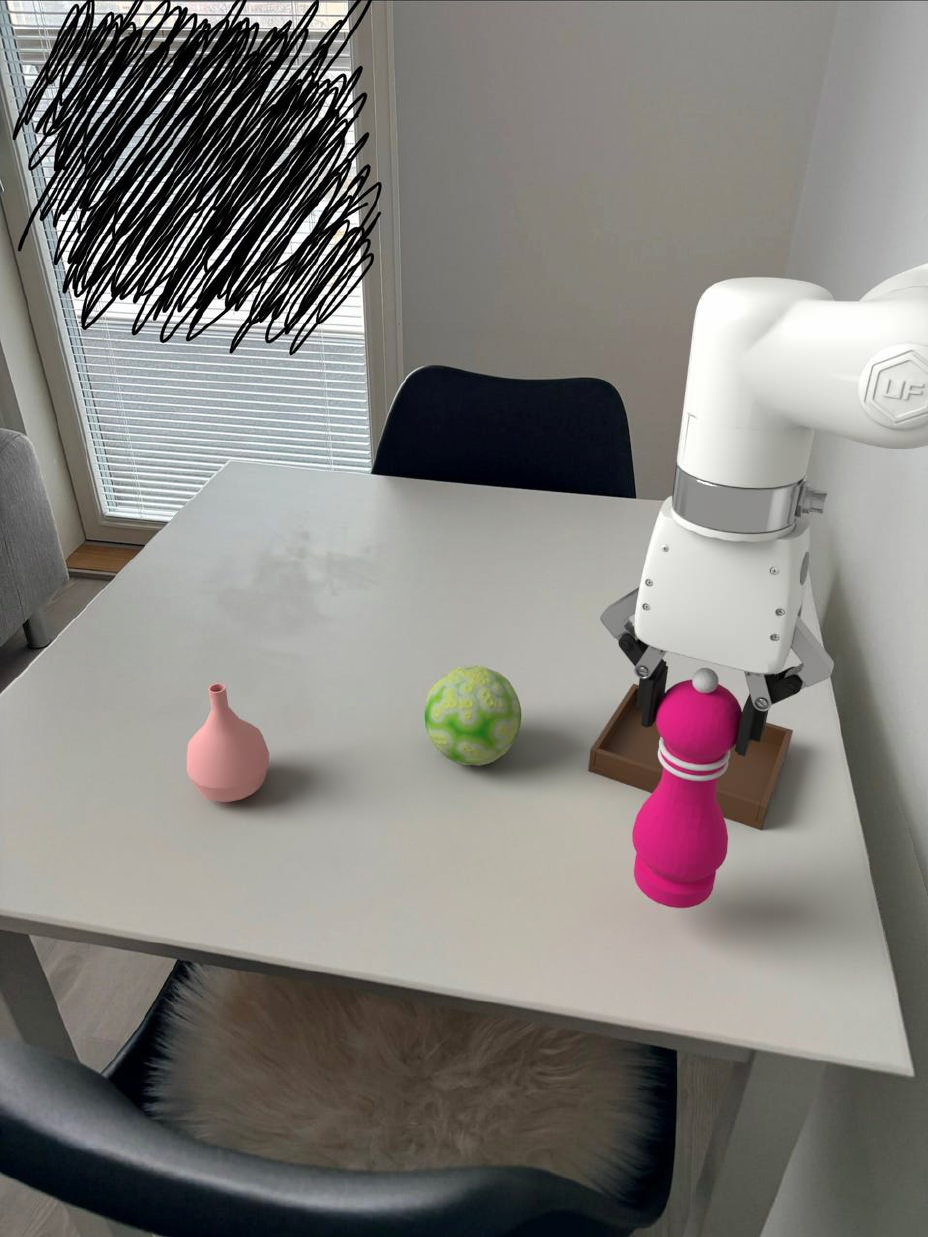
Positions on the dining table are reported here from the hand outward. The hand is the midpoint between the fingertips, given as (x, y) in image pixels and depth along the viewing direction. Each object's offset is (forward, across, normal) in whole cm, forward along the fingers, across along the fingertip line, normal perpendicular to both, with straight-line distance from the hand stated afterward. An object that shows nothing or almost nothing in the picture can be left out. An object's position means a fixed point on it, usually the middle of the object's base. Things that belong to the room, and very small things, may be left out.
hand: (697, 728), depth 63 cm
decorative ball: (+19, +24, -11) cm, 33 cm away
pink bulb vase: (+19, +42, +5) cm, 46 cm away
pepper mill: (+15, 0, 0) cm, 15 cm away
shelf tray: (+20, +4, -21) cm, 29 cm away
